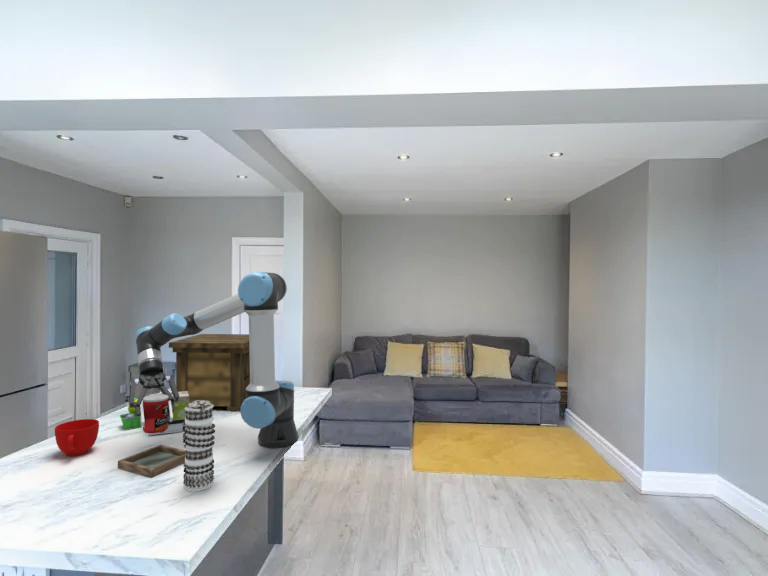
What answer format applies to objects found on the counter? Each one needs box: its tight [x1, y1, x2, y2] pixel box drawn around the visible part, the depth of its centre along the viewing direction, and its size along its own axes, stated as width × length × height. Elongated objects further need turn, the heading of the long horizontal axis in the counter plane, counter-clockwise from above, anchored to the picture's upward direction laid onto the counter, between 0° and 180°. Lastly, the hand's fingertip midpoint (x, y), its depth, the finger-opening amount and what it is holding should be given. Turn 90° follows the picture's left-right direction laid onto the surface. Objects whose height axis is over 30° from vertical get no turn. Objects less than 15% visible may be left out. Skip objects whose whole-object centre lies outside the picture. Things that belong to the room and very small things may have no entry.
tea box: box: [147, 391, 189, 437], centre depth 181 cm, size 15×10×15 cm, turn 117°
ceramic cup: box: [54, 418, 100, 457], centre depth 155 cm, size 13×17×10 cm
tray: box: [117, 444, 186, 479], centre depth 147 cm, size 16×16×2 cm
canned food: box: [142, 393, 169, 434], centre depth 147 cm, size 8×8×11 cm
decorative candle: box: [182, 400, 216, 492], centre depth 132 cm, size 9×9×25 cm
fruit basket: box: [119, 397, 142, 430], centre depth 186 cm, size 11×9×11 cm
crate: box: [168, 333, 250, 412], centre depth 222 cm, size 35×35×33 cm
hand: (157, 421), depth 145 cm, fingers closed on canned food, 8 cm apart
